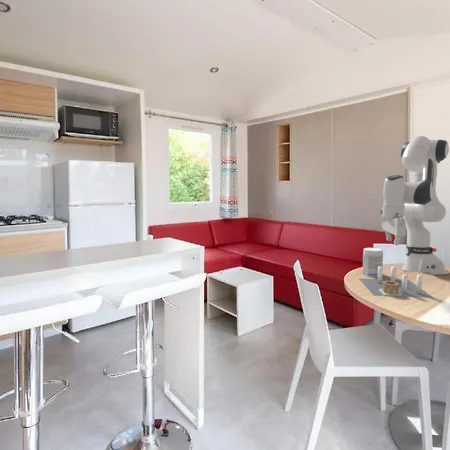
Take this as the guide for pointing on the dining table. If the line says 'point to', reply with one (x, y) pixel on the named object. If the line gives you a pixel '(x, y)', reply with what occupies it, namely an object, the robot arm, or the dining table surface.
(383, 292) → the pad
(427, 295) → the board
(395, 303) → the dining table surface
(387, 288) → the ring
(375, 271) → the supplement tub
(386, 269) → the dining table surface
